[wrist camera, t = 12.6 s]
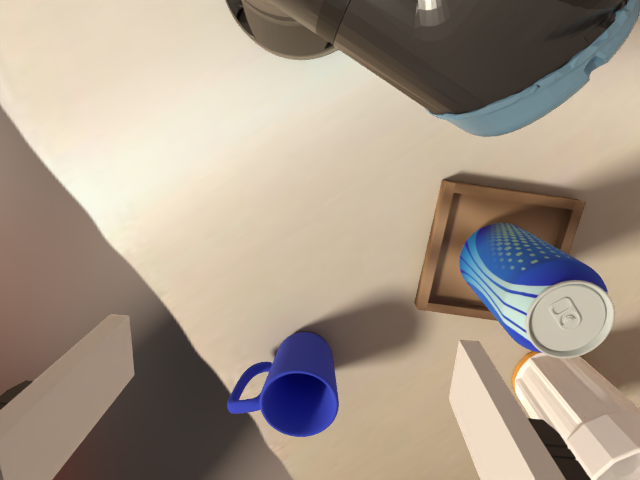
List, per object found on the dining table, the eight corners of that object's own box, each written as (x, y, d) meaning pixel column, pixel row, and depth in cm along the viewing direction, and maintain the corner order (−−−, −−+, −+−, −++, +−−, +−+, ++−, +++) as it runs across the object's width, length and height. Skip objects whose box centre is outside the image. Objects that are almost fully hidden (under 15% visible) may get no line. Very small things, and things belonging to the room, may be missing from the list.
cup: (562, 426, 53) (666, 565, 37) (486, 395, 53) (557, 523, 36) (613, 357, 50) (751, 475, 34) (533, 323, 49) (634, 426, 33)
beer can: (537, 222, 45) (641, 274, 30) (522, 292, 48) (611, 372, 32) (462, 217, 45) (527, 265, 30) (450, 286, 48) (505, 364, 32)
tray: (442, 179, 45) (446, 182, 43) (575, 199, 45) (585, 202, 43) (414, 302, 49) (417, 309, 48) (536, 320, 49) (544, 327, 48)
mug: (237, 333, 51) (214, 382, 42) (331, 318, 50) (330, 365, 41) (252, 388, 53) (234, 446, 44) (342, 375, 52) (344, 432, 43)
